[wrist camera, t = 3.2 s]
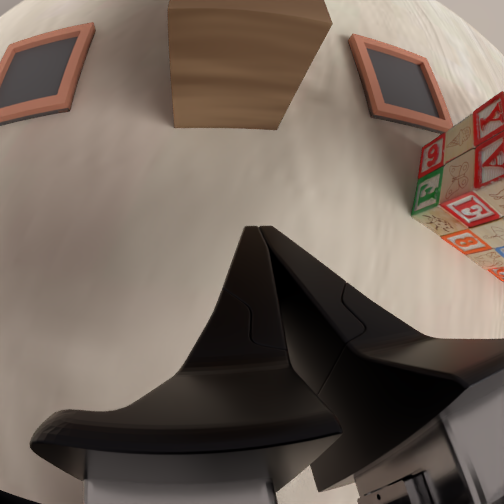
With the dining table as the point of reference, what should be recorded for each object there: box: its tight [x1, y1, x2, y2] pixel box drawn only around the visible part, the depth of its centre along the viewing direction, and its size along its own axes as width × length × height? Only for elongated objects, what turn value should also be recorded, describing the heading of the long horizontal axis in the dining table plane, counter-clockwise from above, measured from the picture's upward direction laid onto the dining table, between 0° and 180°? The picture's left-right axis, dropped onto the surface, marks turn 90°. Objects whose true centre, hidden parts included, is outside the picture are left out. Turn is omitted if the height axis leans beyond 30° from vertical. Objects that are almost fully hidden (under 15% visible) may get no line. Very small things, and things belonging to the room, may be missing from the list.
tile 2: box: [348, 34, 453, 134], centre depth 20 cm, size 8×8×1 cm
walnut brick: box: [168, 0, 332, 130], centre depth 14 cm, size 14×6×9 cm, turn 3°
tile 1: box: [0, 22, 96, 126], centre depth 15 cm, size 8×8×1 cm
